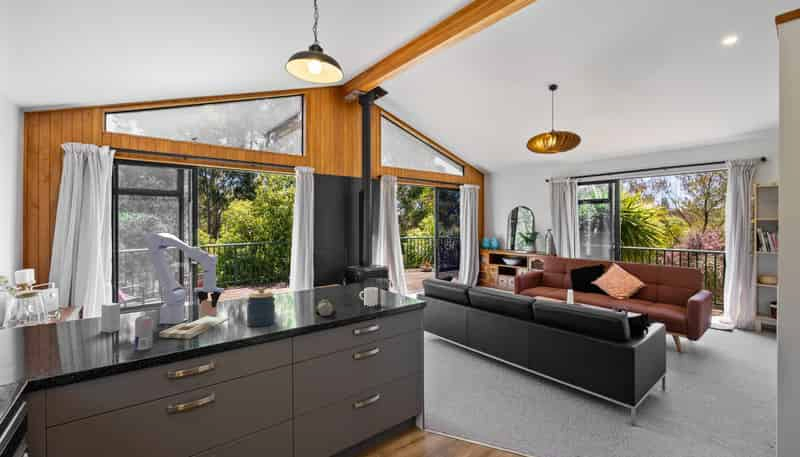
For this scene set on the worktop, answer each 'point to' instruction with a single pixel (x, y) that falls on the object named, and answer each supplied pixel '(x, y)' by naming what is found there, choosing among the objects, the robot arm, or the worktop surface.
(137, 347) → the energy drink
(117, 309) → the skincare box
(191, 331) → the socket block
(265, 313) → the canister
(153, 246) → the robot arm
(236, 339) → the worktop surface
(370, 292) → the mug
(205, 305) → the peg
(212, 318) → the sage mat
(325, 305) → the ceramic sculpture
